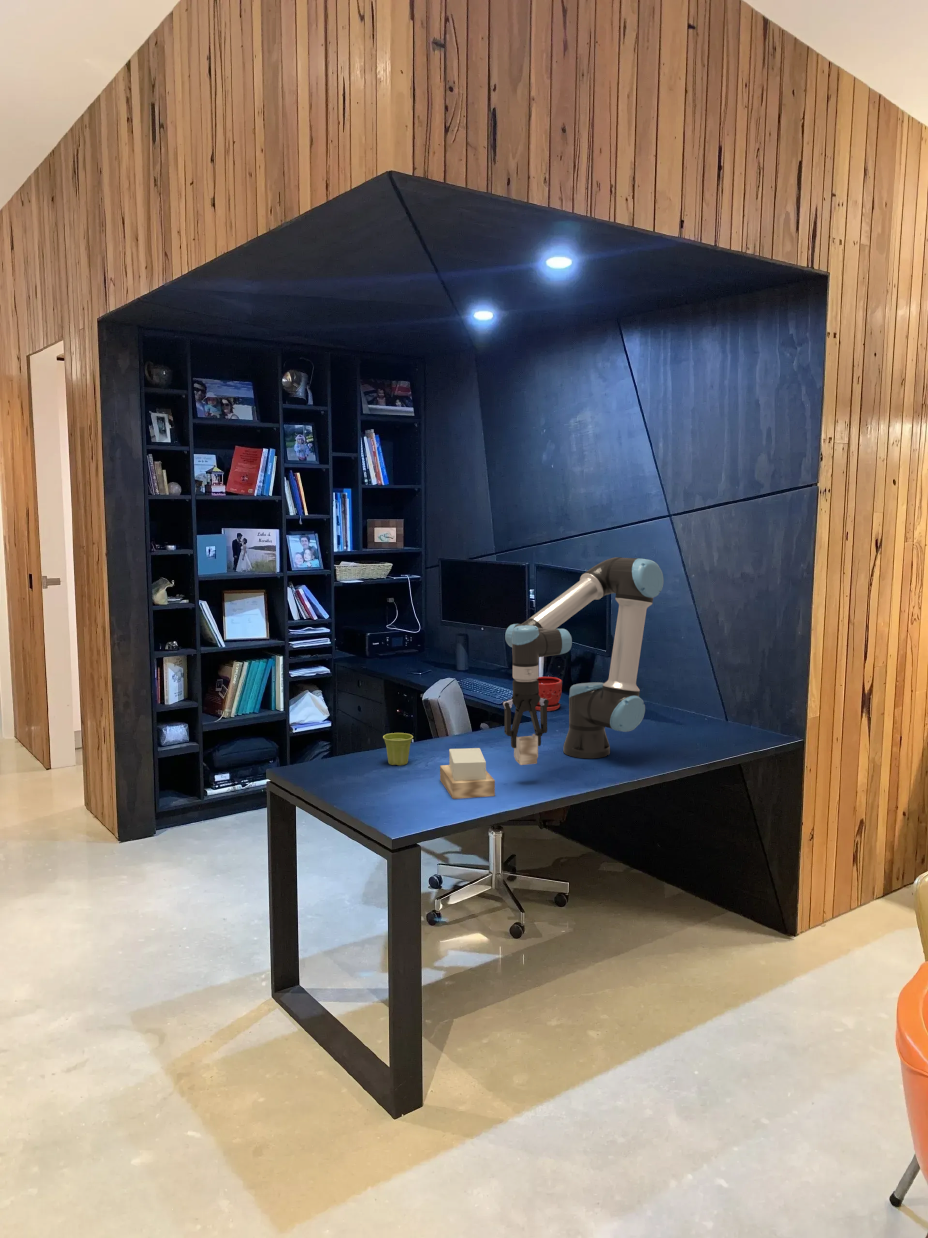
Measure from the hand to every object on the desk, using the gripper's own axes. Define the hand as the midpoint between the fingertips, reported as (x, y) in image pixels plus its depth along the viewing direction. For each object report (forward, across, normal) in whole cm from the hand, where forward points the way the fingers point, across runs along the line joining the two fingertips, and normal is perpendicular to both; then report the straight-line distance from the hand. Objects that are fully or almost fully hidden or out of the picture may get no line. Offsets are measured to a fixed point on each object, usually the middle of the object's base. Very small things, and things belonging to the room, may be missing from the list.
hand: (526, 757), depth 267 cm
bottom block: (+8, -18, 0) cm, 20 cm away
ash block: (+1, 0, 0) cm, 1 cm away
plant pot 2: (+9, +39, +91) cm, 99 cm away
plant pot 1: (+7, -32, +30) cm, 45 cm away
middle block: (+3, -18, 0) cm, 18 cm away
